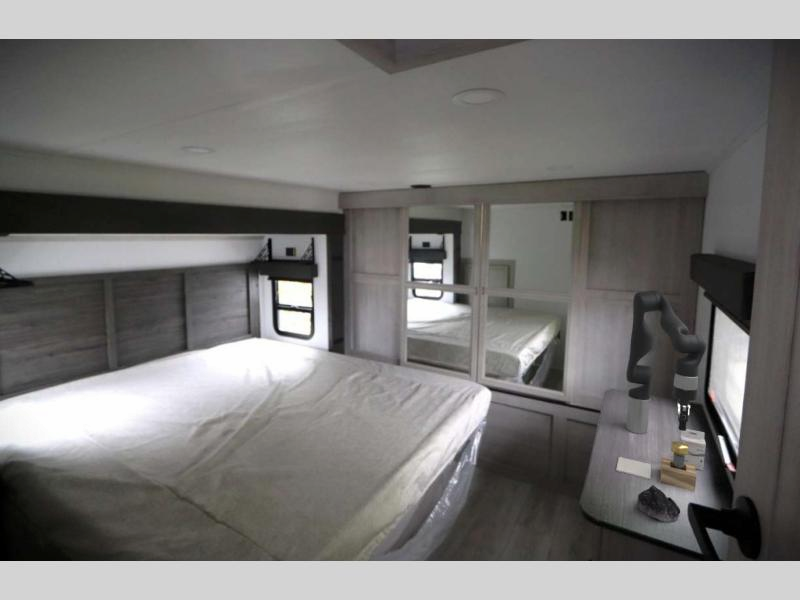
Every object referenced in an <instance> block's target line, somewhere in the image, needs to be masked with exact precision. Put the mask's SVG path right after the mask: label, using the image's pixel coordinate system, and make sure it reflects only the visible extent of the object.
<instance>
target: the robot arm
mask: <svg viewBox="0 0 800 600" xmlns="http://www.w3.org/2000/svg"><path fill="white" fill-rule="evenodd" d="M632 301H633V302H632V303H633V304H632V305H633V306H632V311H633V312H632V318H633V319H632V327H631V328H632V329H631V334H630V343H629V344H630V346H629V357H628V362H627V368H626V374H625V375H626V376H625V377H626V381H627V382H628V383H631V384H636V385H640V386H638V387H634V388H630V389H629V390H628V396H627V409H626V410H627V411H626V412H627V413H626V425H625V428H626V430H627V431H629V432H631V433H634V434H638V435H639V434H647V433H648V426H649V415H650V414H649V413H650V402H651V401H650V400H651V387H652V381H653V369H652V367H651V366H649V365H640V364H638V363H639V361H640V360H641V359H643V358H644V357H645V356H646V355H648V354H649V353H650V352H651V351H652V349H653V347H654V341H655V334H654V331H653V330H652V328H651V327H650V326H649V324H647V321H646V320H645V314H646V313H650V312H657V311H659V312H660V313H661V315H660V319H659V322H660V323H659V324H660V327H661V329H662V330H663V331H664V333H666V334H667V335H668V337H669V339H670V342H671V343H670V344H671V346H672V348H673V350H675V351H676V352H677V353H680V354H687V355H686V356H684V357H680V358H677V360H676V364H675V373H674V377H673V387H672V388H673V389H672V396H673V397H674V398H675V399H678V400H677V415H678V416H677V418H678V419H677V421H678V430H679V431H681V430H682V431H686V429H687V423H688V421H689V420H688V419H689V418H688V417H689V416H690V409H691V402H690V401H692V402H693V401H696V400H697V395H698V385H699V377H698V376H699V366H700V363H701V362H702V360H703V357H704V355H705V353H706V350H707V341H706V339H705V337H704V336H702V335H701V334H689V333H690V332H689V328H688V327H687V325H686V324H685V323H684V322H683V321H682V320H681V319H680V318H679V317H678V316H677V315H676V314H675V312H674V310H673V309H672V307H671V305H670V304H669V302H668V301H667V299H666V297H665V296H664V295H663V293H662V292H661V291H660V290H656V289H655V290H647V291H639V292H637V293H635V294H634V296H633V300H632Z"/></svg>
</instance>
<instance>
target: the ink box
mask: <svg viewBox="0 0 800 600" xmlns="http://www.w3.org/2000/svg"><path fill="white" fill-rule="evenodd" d="M679 442H683V443H686V444H687V445H688V446H689V451H688V455H685V460H684V461H685V462H690V463H694V464H695V470H700V471H704V463H705V455H706V445H707V444H706V440H705V432H704V431H699V430H695V429H689V428H686V431H682V430H680V437H679Z"/></svg>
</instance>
